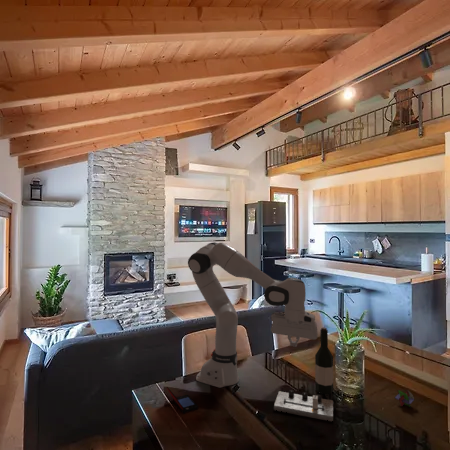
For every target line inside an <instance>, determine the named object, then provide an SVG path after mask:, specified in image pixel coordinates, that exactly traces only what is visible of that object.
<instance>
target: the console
mask: <svg viewBox="0 0 450 450" xmlns="http://www.w3.org/2000/svg"><path fill="white" fill-rule="evenodd" d="M277 393H278V394H277V395H276V399H275V401H274V405H273V411H276V410H277V411H278V412H281V411H282V413H286V412H287V414H293V415H298V416H301V417H308V418H313V419H318V420H323V421H327V420H328V421H327V422H332V421H333V422H334V400H332V399H328V398H327V399H326V398H322V397H323V396H322V394H320V393H318V394H315V395H316V396H318V409H315V408H313V396H308V394H309V393H308V392H307V391H302V392H301V394H298V393H295V390H293V389H289V390H288V392H286V391H285V392H284V391H278V392H277Z"/></svg>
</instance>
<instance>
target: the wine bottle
mask: <svg viewBox="0 0 450 450" xmlns="http://www.w3.org/2000/svg"><path fill="white" fill-rule="evenodd" d="M319 333H320V340H319V343H320V347H319V349H318V350H317V351H316V353H315V356H314V357H315V358H314V359H315V360H314V365H315V367H314V369H315V370H314V371H315V372H314V373H315V375H314V376H315V383H314V384H315V389H316V390H317V391H318V392H320V393H319V394H321V393H323V394H322V395H325V394H328V395H332V394H333V393H334V355H333V354H332V352H331V351H330V349H329V344H328V341H329V340H328V333H329V331H328V329H327V327H325V326H324V327H321V329H320V332H319ZM317 391H316V392H317ZM318 392H317V393H318ZM332 392H333V393H332ZM331 393H332V394H331Z"/></svg>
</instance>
